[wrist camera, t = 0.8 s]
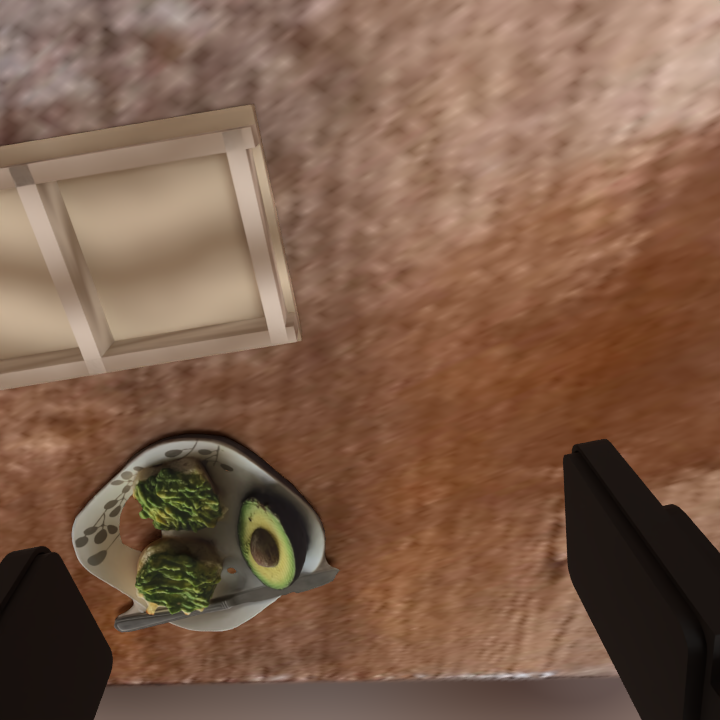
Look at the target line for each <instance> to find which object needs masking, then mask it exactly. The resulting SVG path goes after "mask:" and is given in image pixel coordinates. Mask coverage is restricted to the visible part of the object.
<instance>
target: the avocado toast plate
mask: <svg viewBox="0 0 720 720" xmlns="http://www.w3.org/2000/svg"><path fill="white" fill-rule="evenodd" d="M226 470H228V471H226ZM132 494H133V497H134V499H135V500H138V501H139V503H140V504H141V505H142V508H143V509H142V511H141V512H140V513H139V515H140V517H141V518H143V519H146V518H151V519H153V524H154V527H155V528H156V529H159V530H161V531H162V537H161V538H160V539H157V540H155V541H153V542H151V543H149V544H148V545H147V546H146V547H145V549H144V550H143V551H142V552H141V551H138V550H135V549H132V548H130V547H128V546H126V545H124V544H123V543H122V541H121V537H120V533H119V524H120V514H121V512H122V509H123V507H124V505H125V502H126V501H127V500H128V498H129V497H130V496H131V495H132ZM325 540H326V538H325V531H324V528H323V524H322V522H321V520H320V518H319V516H318V515H317V513H316V512H315V511H314V509H313V508H312V507H311V505H310V504H309V503H308V502H307V501H306V499H305V498H304V497H303V496H302V495H301V494H300V493H299V492H298V491H297V490H296V488H295V487H294V486H293V485H292V484H291V483H290V482H289V481H287V480H286V479H285V478H284V477H282V476H281V475H280V474H279V473H278V472H277V471H275V470H274V469H273V468H272V467H271V466H270V465H269V464H267V463H266V462H265V461H264V460H263V459H261V458H260V457H259V456H258V455H256V454H255V453H253V452H252V451H250V450H248V449H247V448H245V447H243V446H241V445H239V444H238V443H236V442H234V441H232V440H230V439H228V438H226V437H223V436H215V435H205V434H183V435H178V436H173V437H168V438H165V439H162V440H160V441H158V442H156V443H154V444H152V445H149V446H147V447H146V448H144V449H142V450H141V451H139V452H138V453H136V454H135V455H134V456H133V457H132V458H131V459H130V460H129V461H128V463H127V464H126V465H125V467H124V468H123V469H122V470H121V471H120V472H119V473H118V474H117V475H116V476H115V477H114V478H112V479H111V480H110V481H109V482H108V483H107V484H106V485H105V486H104V487H103V488H102V489H101V490H100V491H99V492H98V493H97V494H96V495H95V496H94V497H93V498H92V499H91V500H90V501H89V502H88V503H87V504H86V506H85V507H84V508H83V509H82V511H81V512H80V513H79V514H78V515H77V516H76V518H75V522H74V524H73V527H72V542H73V546H74V549H75V553H76V555H77V558H78V559H79V562H80V563H81V564H82V565H83V566H84V567H85V568H86V569H87V570H88V571H89V572H90V573H92V574H93V575H95V576H96V577H98V578H99V579H101V580H103V581H104V582H106V583H108V584H110V585H111V586H113V587H115V588H117V589H118V590H120V591H121V592H123V593H124V594H126V595H128V596H129V597H131V598H132V600H133V602H134V605H133V606H132V607H131V608H130V609H129V610H128V611H126V612H125V613H123V614H121V615H119V616H118V617H117V618H116V619H115V625H114V626H115V628H116V629H117V630H118V631H120V632H131V631H135V630H139V629H144V628H147V627H152V626H155V625H159V624H164V623H168V622H170V623H172V624H174V625H177V626H179V627H182V628H186V629H189V630H196V631H225V630H229V629H233V628H235V627H237V626H239V625H240V624H242V623H244V622H246V621H248V620H249V619H251V618H252V617H254V616H255V615H257V614H258V613H259V612H261V611H262V610H263V609H264V608H266V607H267V606H268V605H270V604H271V603H273V602H274V601H275V600H276V599H278V598H279V597H280V596H281V595H286V594H288V593H291V592H296V593H300V592H303V591H307V590H310V589H313V588H316V587H319V586H322V585H325V584H327V583H329V582H331V581H333V580H334V578H335V575H336V574H337V573H338V572H339V571H340V570H338V569H336V568H334V567H332V566H330V565H329V564H328V563H327V561H326V558H325ZM231 567H232V568H234V569H236V573H234V574H230V573H229V572H227V569H228V568H231Z"/></svg>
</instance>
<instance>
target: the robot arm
mask: <svg viewBox="0 0 720 720" xmlns="http://www.w3.org/2000/svg"><path fill="white" fill-rule="evenodd" d="M563 470H564V492H565V515H566V538H567V560H568V570H569V574H570V577H571V580H572V583H573V585H574V587H575V589H576V591H577V593H578V595H579V597H580V599H581V601H582V603H583V605H584V607H585V609H586V611H587V613H588V615H589V617H590V619H591V621H592V623H593V625H594V627H595V629H596V631H597V633H598V635H599V637H600V639H601V641H602V643H603V645H604V647H605V648H606V650H607V652H608V654H609V656H610V658H611V660H612V662H613V664H614V666H615V668H616V670H617V672H618V674H619V676H620V678H621V680H622V682H623V684H624V686H625V688H626V690H627V692H628V694H629V695H630V698H631V700H632V702H633V704H634V706H635V707H636V709H637V711H638V713H639V715H640V717H641V719H642V720H720V553H719V552H718V550H717V549H716V548H715V547H714V546H713V545H712V543H711V542H710V541H709V540H708V539H707V538H706V536H705V535H704V534H703V533H702V532H701V531H700V530H699V528H698V527H697V526H696V525H695V524H694V523H693V521H692V520H691V519H690V518H689V517H688V516H687V514H686V513H685V512H684V511H683V510H682V509H680V508H679V507H678V506H676V505H673V504H670V505H665V506H662V505H661V503H660V502H659V501H658V500H657V499H656V497H655V496H654V495H653V494H652V492H651V491H650V490H649V489H648V488H647V486H646V485H645V484H644V483H643V482H642V480H641V479H640V478H639V477H638V475H637V474H636V473H635V472H634V471H633V469H632V468H631V467H630V466H629V464H628V463H627V462H626V461H625V460H624V458H623V457H622V456H621V455H620V453H619V452H618V451H617V450H616V449H615V447H614V446H613V445H612V444H611V443H610V442H609V441H608V440H607V439H602V440H596V441H591V442H586V443H581V444H575V445H574V446H573V448H572V454H567V455H564V458H563ZM112 664H113V657H112V652H111V649H110V647H109V645H108V643H107V641H106V640H105V638H104V636H103V634H102V632H101V630H100V629H99V627H98V625H97V623H96V621H95V619H94V618H93V616H92V614H91V612H90V610H89V608H88V606H87V605H86V603H85V601H84V599H83V597H82V595H81V594H80V592H79V590H78V588H77V586H76V584H75V583H74V581H73V579H72V577H71V575H70V573H69V571H68V570H67V568H66V566H65V564H64V562H63V560H62V559H61V557H60V556H59V554H57V553H56V552H51V551H50V550H49V549H48V548H47V547H44V546H40V547H34V548H29V549H24V550H19V551H13V552H11V553H9V554H7V555H6V556H5V558H4V559H3V560H2V562H1V563H0V720H94V717H95V715H96V712H97V709H98V706H99V704H100V701H101V698H102V695H103V693H104V690H105V687H106V684H107V682H108V679H109V676H110V673H111V670H112Z"/></svg>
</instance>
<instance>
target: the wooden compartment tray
mask: <svg viewBox="0 0 720 720" xmlns="http://www.w3.org/2000/svg"><path fill="white" fill-rule="evenodd" d="M297 341H302V331H301V326H300V321H299V316H298V311H297V307H296V302H295V297H294V292H293V288H292V283H291V278H290V273H289V269H288V264H287V259H286V254H285V250H284V245H283V240H282V235H281V231H280V226H279V221H278V216H277V212H276V207H275V202H274V197H273V193H272V188H271V183H270V178H269V174H268V169H267V164H266V159H265V155H264V150H263V145H262V140H261V136H260V131H259V126H258V121H257V117H256V112H255V107H254V104H250V105H244V106H238V107H232V108H227V109H221V110H215V111H209V112H203V113H197V114H191V115H185V116H179V117H173V118H167V119H161V120H155V121H149V122H143V123H137V124H131V125H125V126H119V127H113V128H107V129H101V130H95V131H89V132H83V133H77V134H71V135H65V136H59V137H53V138H47V139H41V140H36V141H30V142H24V143H18V144H12V145H6V146H0V390H5V389H11V388H17V387H23V386H29V385H35V384H42V383H48V382H54V381H60V380H66V379H72V378H78V377H84V376H90V375H97V374H103V373H109V372H115V371H121V370H127V369H133V368H139V367H146V366H152V365H158V364H164V363H170V362H176V361H182V360H188V359H194V358H201V357H207V356H213V355H219V354H225V353H231V352H237V351H243V350H250V349H256V348H262V347H268V346H274V345H280V344H286V343H292V342H297Z"/></svg>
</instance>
